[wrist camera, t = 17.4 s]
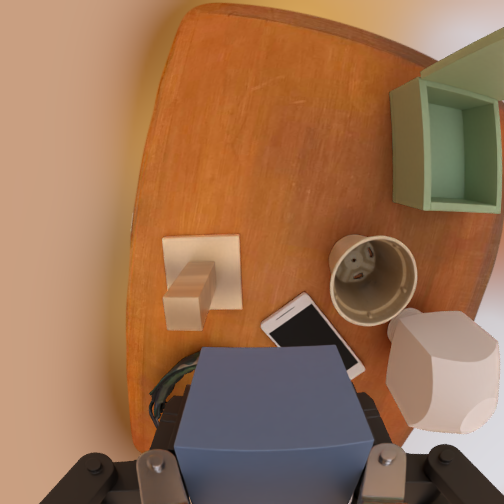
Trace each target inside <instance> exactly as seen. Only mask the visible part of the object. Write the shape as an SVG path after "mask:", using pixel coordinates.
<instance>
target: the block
mask: <svg viewBox="0 0 504 504" xmlns="http://www.w3.org/2000/svg"><path fill="white" fill-rule="evenodd" d="M373 443H374V438H373V435H372V433H371V430H370V428H369V425H368V423H367V420H366V418H365V415H364V413H363V410H362V408H361V405H360V403H359V400H358V398H357V395H356V393H355V390H354V388H353V385H352V383H351V380H350V378H349V376H348V373H347V371H346V368H345V366H344V364H343V361H342V359H341V356H340V354H339V352H338V349H337V347H336V345H322V346H301V347H262V348H229V347H202V349H201V352H200V356H199V359H198V362H197V366H196V369H195V373H194V376H193V380H192V383H191V387H190V390H189V393H188V397H187V400H186V404H185V408H184V411H183V415H182V418H181V422H180V425H179V429H178V432H177V436H176V440H175V443H174V449H175V452H176V456H177V459H178V463H179V466H180V469H181V472H182V476H183V479H184V482H185V485H186V488H187V491H188V494H189V497H190V500H191V502H192V504H348V503H349V501H350V499H351V497H352V495H353V492H354V490H355V488H356V486H357V483H358V481H359V479H360V476H361V474H362V471H363V469H364V466H365V464H366V461H367V459H368V456H369V454H370V451H371V448H372V446H373Z"/></svg>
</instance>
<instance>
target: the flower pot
mask: <svg viewBox="0 0 504 504" xmlns="http://www.w3.org/2000/svg"><path fill="white" fill-rule="evenodd" d="M368 248H370V249H371V251H372V254H373V256H372V257H370V255H369V251H368ZM353 259H355V262H353V261H352V260H353ZM329 268H330V271H331V279H330V295H331V299H332V302H333V305H334V307H335V308H336V310H337V312H338V313H339V314H340V315H341V316H342V317H343V318H344V319H346V320H347V321H349V322H351V323H353V324H356V325H360V326H375V325H380V324H383V323H385V322H387V321H389V320H391V319H393V318H394V317H395V316H397V315H398V314H399V313H400V312H401V311H402V310H403V309H404V308H405V307H406V306H407V305H408V303H409V302H410V300H411V298H412V296H413V294H414V291H415V288H416V284H417V266H416V262H415V259H414V257H413V255H412V253H411V251H410V250H409V249H408V248H407V247H406V246H405V245H404V244H403V243H402V242H400V241H399V240H397V239H395V238H392V237H388V236H371V237H365V236H362V235H356V234H355V235H348V236H345V237H343V238H341V239H340V240H339V241H338V242H336V244H335V245H334V247H333V248H332V250H331V252H330V255H329ZM337 269H338V270H337ZM361 273H362V274H363V276H362V277H360V278H357V279H354V276H356V275H358V274H361Z"/></svg>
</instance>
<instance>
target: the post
mask: <svg viewBox="0 0 504 504" xmlns="http://www.w3.org/2000/svg"><path fill="white" fill-rule="evenodd" d="M162 243H163V253H164V263H165V272H166V281H167V289H168V291H167V292H166V293H165V295H164V296H163V304H164V311H165V318H166V325H167V330H180V331H202V330H203V327H204V324H205V320H206V317H207V314H208V311H209V310H224V309H242V307H243V302H242V279H241V254H240V234H216V235H186V236H165V237H163V238H162Z"/></svg>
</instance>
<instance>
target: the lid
mask: <svg viewBox="0 0 504 504" xmlns="http://www.w3.org/2000/svg"><path fill="white" fill-rule="evenodd" d="M420 74H421V79H424V80H428V81H433V82H437V83H441V84H445V85H449V86H453V87H457V88H461V89H464V90H468V91H471V92H475V93H478V94H481V95H485V96H488V97H491V98H494V99H497V100H500V101H502V100H504V27H503V28H501V29H499V30H497V31H495V32H493V33H491V34H489V35H487V36H486V37H483V38H481V39H479V40H477V41H475V42H473V43H471V44H470V45H468V46H466V47H464V48H462V49H460V50H458V51H456V52H455V53H453V54H451V55H449V56H447V57H445V58H444V59H442V60H440V61H438V62H436V63H435V64H433V65H431V66H429V67H428V68H426V69H424V70H422V71H421V72H420Z"/></svg>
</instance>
